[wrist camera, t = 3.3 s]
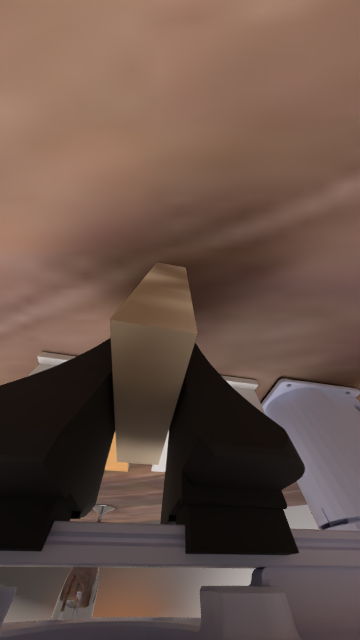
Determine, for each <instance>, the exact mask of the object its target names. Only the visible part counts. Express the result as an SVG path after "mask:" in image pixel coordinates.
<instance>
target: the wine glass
mask: <svg viewBox="0 0 360 640" xmlns="http://www.w3.org/2000/svg"><path fill="white" fill-rule="evenodd" d="M92 510H94V511H96V512H97V513H98V514H99V518H98V522H101V518H102V516H103V515H104V514H105V513H107V512H110V511H113V510H115V508H114V507H112V506H108V505H95V506H94V507H93V509H92ZM98 581H99V567H73V568H72V570H71V571H70V573H69V575H68V577H67V579H66V581H65V584H64V586H63V588H62V590H61V593H60V595H59V598H58V600H57V603H56V606H55V609H54V612H53V615H52V618H51V620H59V619H77V618H92V615H93V610H94V606H95V600H96V595H97V589H98Z"/></svg>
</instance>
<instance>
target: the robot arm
mask: <svg viewBox="0 0 360 640" xmlns="http://www.w3.org/2000/svg"><path fill="white" fill-rule="evenodd" d="M359 394H360V391H359V390H358V389H356V388H349V387H342V386H334V385H327V384H320V383H312V382H305V381H297V380H290V379H281V380H279V381H278V382H277V384H276V385H275V386H274V388H273V389H272V390H271V391H270V393H269V394H268V395H267V397H266V398H265V399H264V401H263V402H262V403H261V406H262V408H263V410H264V412H265V414H266V415H265V414H264V413H263V412H261V411H260V410H259V409H257V408H256V407H255V406H254V405H252V404H251V403H250V402H249V401H248V400H246V399H245V398H244V397H243V396H242V395H241V394H239V393H238V392H237V391H236V390H235V389H234V388H233V387H232V386H231V385H230V384H229V383H228V382H227V381H226V380H225V379H224V378H223V377H222V376H221V375H220V374H219V373H218V372H217V371H216V370H215V369H214V368H213V366H212V365H211V364H210V363H209V362H208V360H207V359H206V358H205V356H204V355H203V354H202V352H201V351H200V349H199V348H198V346H197V345H196V343H195V344H194V347H193V350H192V354H191V357H190V360H189V364H188V367H187V370H186V374H185V377H184V381H183V384H182V387H181V391H180V394H179V397H178V401H177V404H176V407H175V411H174V414H173V417H172V421H171V424H170V427H169V436H168V448H167V459H166V470H165V481H164V491H163V501H162V511H161V524H134V523H104V522H74V521H70V519H80V518H81V517H85V516H86V515H87V514H88V513H89V512H90V511H91V510H92V509H93V507H94V506H95V504H96V500H97V496H98V492H99V488H100V485H101V481H102V477H103V473H104V470H105V466H106V462H107V459H108V455H109V451H110V448H111V444H112V440H113V437H114V433H115V414H114V393H113V373H112V353H111V338H109V339H108V340H106V341H105V342H103V343H102V344H100V345H98V346H96V347H95V348H93V349H91V350H89V351H87V352H85V353H83V354H81V355H79V356H77V357H75V358H72V359H70V360H68V361H66V362H63V363H61V364H59V365H57V366H54V367H52V368H49V369H46V370H44V371H41V372H39V373H36V374H33V375H30V376H28V377H25V378H22V379H19V380H16V381H13V382H10V383H7V384H4V385H1V386H0V567H132V568H134V567H136V568H139V567H143V568H145V567H146V568H256V569H254V571H253V573H252V580H251V584H250V585H249V586H202V587H201V589H200V603H201V618H177V617H176V618H175V617H102V618H77V619H59V620H43V621H26V622H10V623H3V620H4V618H5V616H6V614H7V611H8V609H9V607H10V605H11V603H12V601H13V598H14V596H15V594H16V587H0V640H360V402H359V401H358V400H357V399H356V397H357V396H358V395H359ZM296 481H297V483H298V485H299V487H300V489H301V492H302V494H303V496H304V498H305V500H306V502H307V504H308V506H309V508H310V510H311V513H312V515H313V517H314V519H315V521H316V523H317V525H318V527H319V529H320V530H312V529H290V527H289V524H288V521H287V519H286V516H285V513H284V511H283V509H286V508H287V504H286V501H285V498H284V496H283V493H282V491H281V490H282V489H284V488H286V487H287V486H289V485H291V484H292V483H294V482H296Z"/></svg>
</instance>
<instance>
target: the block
mask: <svg viewBox="0 0 360 640" xmlns="http://www.w3.org/2000/svg"><path fill="white" fill-rule="evenodd" d="M110 332H111V353H112V373H113V393H114V414H115V434H116V454H117V462H125V463H139V464H153V465H158V464H159V461H160V458H161V454H162V451H163V448H164V444H165V441H166V438H167V434H168V431H169V427H170V424H171V421H172V417H173V414H174V411H175V407H176V404H177V401H178V397H179V394H180V391H181V387H182V384H183V381H184V377H185V374H186V370H187V367H188V364H189V360H190V357H191V354H192V350H193V347H194V344H195V340H196V337H197V334H198V333H197V327H196V322H195V316H194V311H193V305H192V300H191V294H190V288H189V283H188V277H187V272H186V268H185V267H180V266H175V265H170V264H165V263H160V262H157V263H156V264H155V265H154V266H153V268H152V269H151V270H150V271H149V272H148V274H147V275H146V276H145V277H144V279H143V280H142V281H141V282H140V283H139V285H138V286H137V287H136V288H135V290H134V291H133V292H132V293H131V294H130V296H129V297H128V298H127V299H126V301H125V302H124V303H123V304H122V305H121V307H120V308H119V309H118V310H117V312H116V313H115V314H114V315H113V316H112V318H111V319H110Z"/></svg>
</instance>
